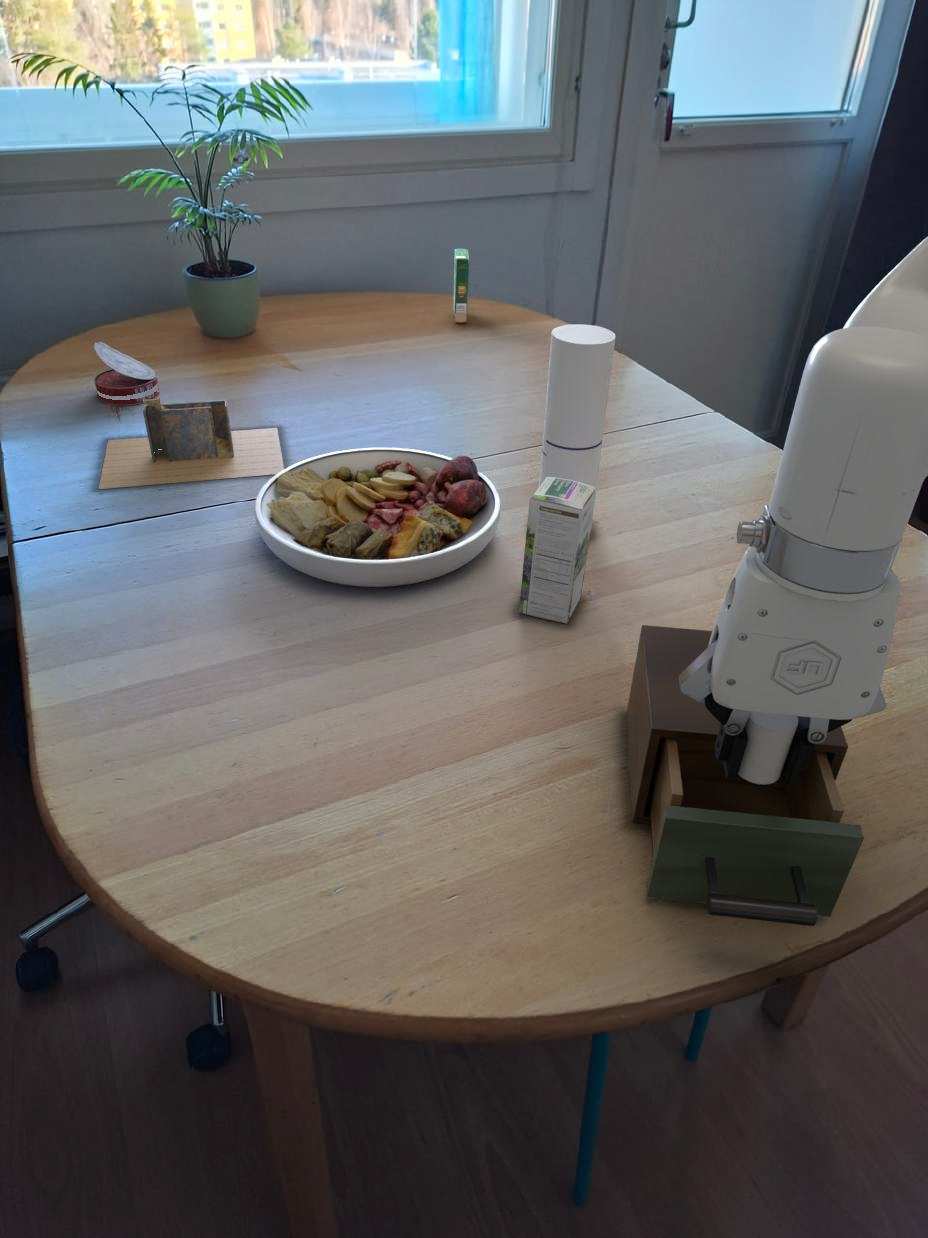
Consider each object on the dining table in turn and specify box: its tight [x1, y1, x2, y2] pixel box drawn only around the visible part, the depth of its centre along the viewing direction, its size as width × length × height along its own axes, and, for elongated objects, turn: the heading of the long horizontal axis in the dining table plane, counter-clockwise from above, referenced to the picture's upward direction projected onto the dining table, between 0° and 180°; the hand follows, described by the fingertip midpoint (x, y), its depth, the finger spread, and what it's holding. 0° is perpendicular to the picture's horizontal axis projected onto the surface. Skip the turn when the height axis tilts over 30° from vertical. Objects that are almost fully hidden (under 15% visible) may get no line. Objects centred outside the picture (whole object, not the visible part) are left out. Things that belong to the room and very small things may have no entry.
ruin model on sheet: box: [98, 397, 285, 490], centre depth 124 cm, size 25×16×10 cm, turn 104°
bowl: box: [254, 447, 502, 588], centre depth 108 cm, size 30×30×8 cm
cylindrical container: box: [538, 323, 617, 534], centre depth 105 cm, size 7×7×25 cm
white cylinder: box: [738, 712, 798, 785], centre depth 61 cm, size 3×3×5 cm
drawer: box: [645, 737, 865, 927], centre depth 66 cm, size 17×13×9 cm
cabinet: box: [625, 624, 849, 825], centre depth 74 cm, size 14×15×11 cm
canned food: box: [93, 341, 161, 407], centre depth 144 cm, size 11×10×10 cm
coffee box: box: [453, 248, 470, 314], centre depth 181 cm, size 8×3×13 cm, turn 2°
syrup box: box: [518, 477, 598, 625], centre depth 94 cm, size 6×6×14 cm
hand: (757, 765), depth 62 cm, fingers closed on white cylinder, 3 cm apart
